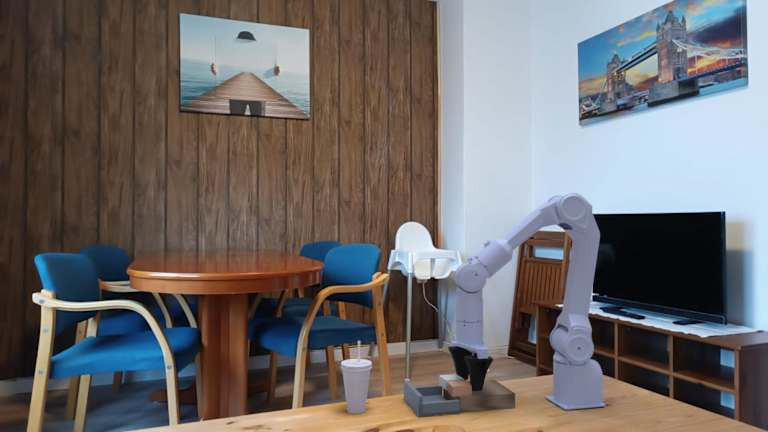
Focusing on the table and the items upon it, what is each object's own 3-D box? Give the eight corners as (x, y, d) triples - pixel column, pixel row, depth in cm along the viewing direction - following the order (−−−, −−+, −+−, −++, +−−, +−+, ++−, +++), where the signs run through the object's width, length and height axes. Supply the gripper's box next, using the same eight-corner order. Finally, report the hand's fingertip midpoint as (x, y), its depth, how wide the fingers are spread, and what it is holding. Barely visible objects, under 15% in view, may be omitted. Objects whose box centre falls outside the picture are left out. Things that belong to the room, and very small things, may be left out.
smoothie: (368, 417, 102) (368, 345, 103) (336, 414, 104) (336, 343, 104) (375, 406, 109) (375, 338, 109) (345, 404, 110) (345, 337, 110)
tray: (441, 396, 115) (441, 377, 115) (459, 413, 104) (459, 393, 104) (403, 399, 113) (403, 380, 113) (418, 417, 102) (418, 396, 102)
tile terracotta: (465, 389, 110) (464, 379, 110) (471, 395, 106) (471, 385, 106) (446, 390, 109) (446, 381, 109) (452, 396, 106) (452, 386, 106)
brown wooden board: (493, 392, 117) (493, 379, 117) (515, 407, 108) (515, 393, 108) (443, 396, 115) (443, 383, 115) (460, 412, 105) (460, 397, 105)
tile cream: (456, 383, 115) (456, 373, 115) (463, 388, 111) (463, 378, 111) (439, 384, 114) (439, 375, 114) (446, 390, 110) (446, 380, 110)
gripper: (440, 315, 117) (440, 376, 117) (464, 327, 103) (464, 397, 103) (469, 314, 119) (469, 374, 119) (497, 326, 105) (498, 394, 104)
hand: (469, 385), depth 111 cm, fingers open, 7 cm apart
